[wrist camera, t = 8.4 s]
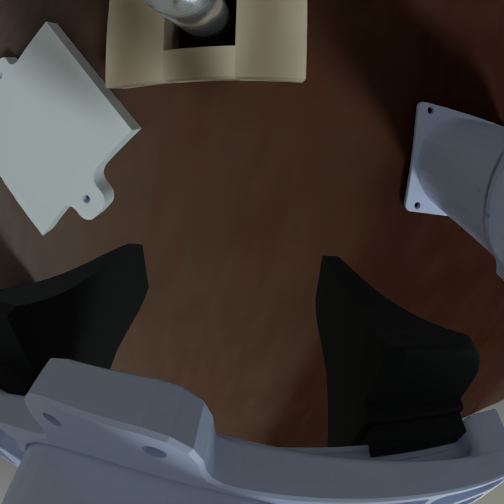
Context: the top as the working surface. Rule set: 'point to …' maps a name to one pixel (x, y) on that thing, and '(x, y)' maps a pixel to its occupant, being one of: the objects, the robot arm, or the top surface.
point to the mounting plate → (58, 130)
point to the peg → (197, 17)
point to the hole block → (206, 58)
